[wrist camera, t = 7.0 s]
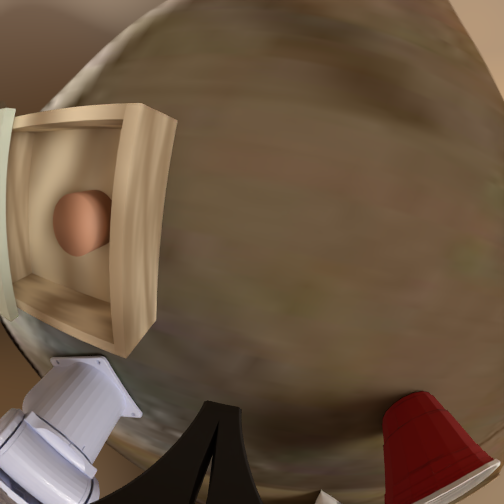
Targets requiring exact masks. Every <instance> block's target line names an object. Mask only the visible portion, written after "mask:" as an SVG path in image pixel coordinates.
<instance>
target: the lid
mask: <svg viewBox="0 0 504 504" xmlns="http://www.w3.org/2000/svg"><path fill="white" fill-rule="evenodd" d="M15 110H16V109H11V108H3V109H0V315H2V316H3V317H5V318H6V319H8V320H9V321H13V320H14V319H16V318H17V317H18V316H19V315H18V310H17V306H16V301H15V296H14V291H13V285H12V279H11V273H10V265H9V257H8V247H7V233H6V178H7V164H8V154H9V146H10V139H11V132H12V126H13V121H14V116H15Z"/></svg>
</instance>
